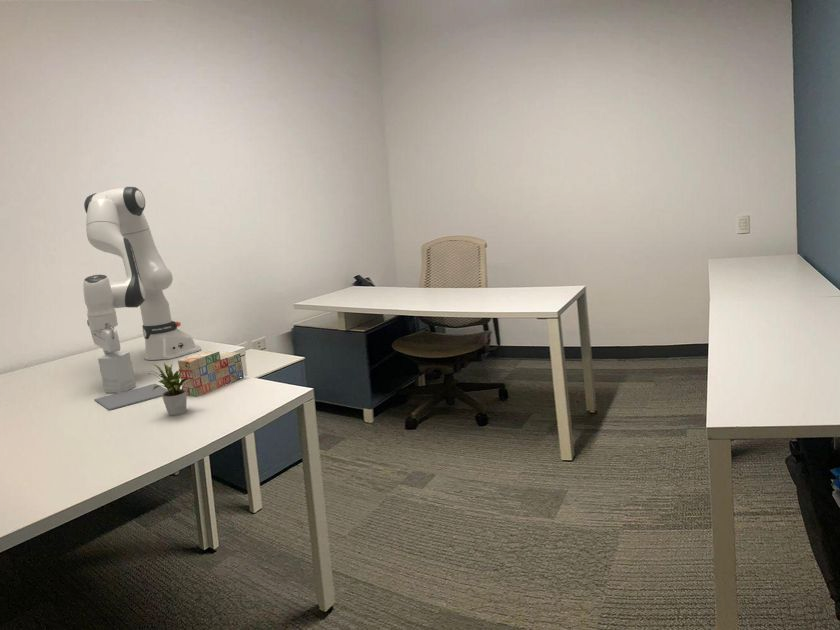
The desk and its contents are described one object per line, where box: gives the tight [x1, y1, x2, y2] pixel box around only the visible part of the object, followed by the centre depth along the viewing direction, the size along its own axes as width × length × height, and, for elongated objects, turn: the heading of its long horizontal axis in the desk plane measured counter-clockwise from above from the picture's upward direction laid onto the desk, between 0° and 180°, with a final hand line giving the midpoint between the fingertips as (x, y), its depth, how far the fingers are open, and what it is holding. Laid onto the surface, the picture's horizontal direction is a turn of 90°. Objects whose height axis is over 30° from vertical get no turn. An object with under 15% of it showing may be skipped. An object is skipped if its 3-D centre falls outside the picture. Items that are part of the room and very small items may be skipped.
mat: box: [94, 383, 168, 411], centre depth 206 cm, size 20×16×1 cm
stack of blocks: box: [177, 350, 244, 398], centre depth 210 cm, size 21×6×12 cm, turn 150°
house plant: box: [142, 360, 192, 416], centre depth 185 cm, size 14×14×16 cm
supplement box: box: [97, 351, 137, 394], centre depth 214 cm, size 7×7×13 cm
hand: (109, 360), depth 217 cm, fingers closed
